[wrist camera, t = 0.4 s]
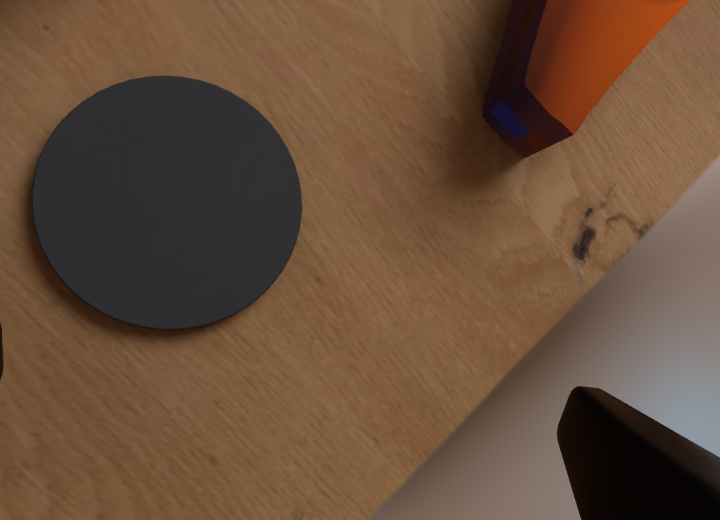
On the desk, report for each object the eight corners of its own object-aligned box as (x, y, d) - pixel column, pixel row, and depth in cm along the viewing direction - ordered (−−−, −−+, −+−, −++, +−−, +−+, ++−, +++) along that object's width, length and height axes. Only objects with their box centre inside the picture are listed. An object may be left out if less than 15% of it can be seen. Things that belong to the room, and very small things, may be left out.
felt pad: (310, 315, 24) (312, 316, 23) (44, 343, 21) (39, 344, 20) (289, 81, 24) (291, 75, 24) (28, 80, 22) (23, 74, 21)
